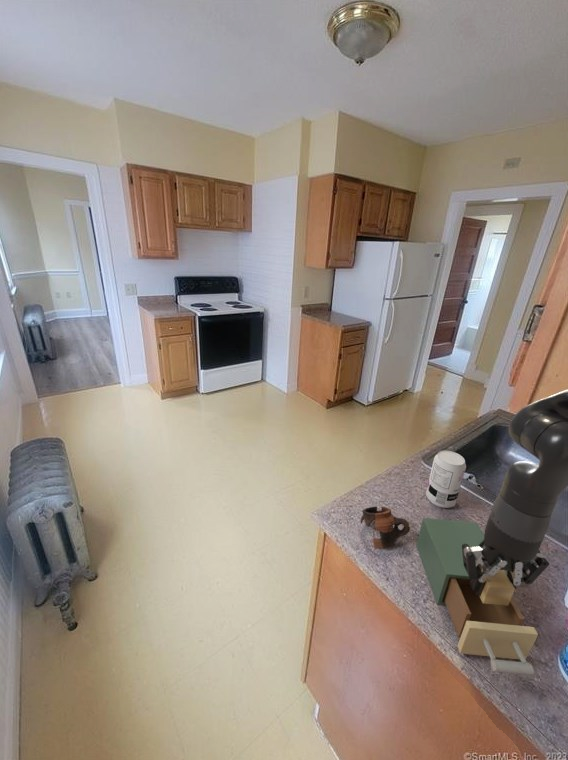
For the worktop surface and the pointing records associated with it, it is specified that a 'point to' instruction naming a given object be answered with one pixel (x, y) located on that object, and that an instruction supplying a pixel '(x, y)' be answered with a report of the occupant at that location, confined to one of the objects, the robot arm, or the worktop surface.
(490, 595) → the block
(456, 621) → the drawer
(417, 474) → the worktop surface
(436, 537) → the cabinet
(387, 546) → the pottery mug
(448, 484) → the supplement can
